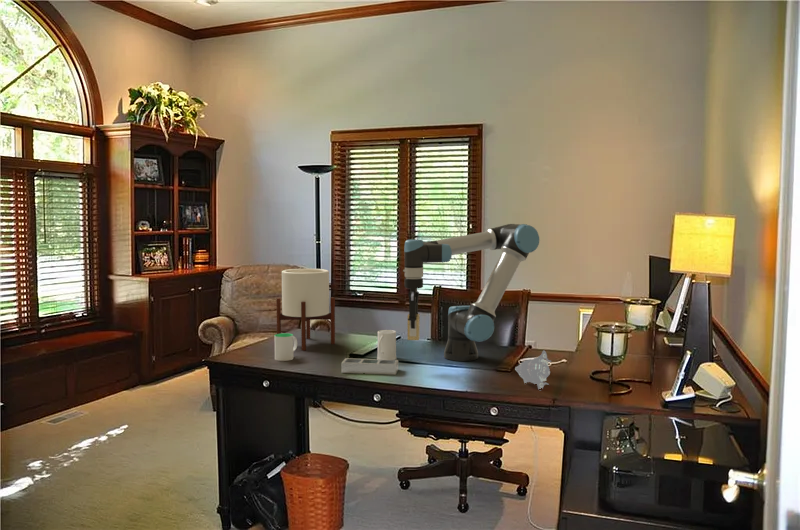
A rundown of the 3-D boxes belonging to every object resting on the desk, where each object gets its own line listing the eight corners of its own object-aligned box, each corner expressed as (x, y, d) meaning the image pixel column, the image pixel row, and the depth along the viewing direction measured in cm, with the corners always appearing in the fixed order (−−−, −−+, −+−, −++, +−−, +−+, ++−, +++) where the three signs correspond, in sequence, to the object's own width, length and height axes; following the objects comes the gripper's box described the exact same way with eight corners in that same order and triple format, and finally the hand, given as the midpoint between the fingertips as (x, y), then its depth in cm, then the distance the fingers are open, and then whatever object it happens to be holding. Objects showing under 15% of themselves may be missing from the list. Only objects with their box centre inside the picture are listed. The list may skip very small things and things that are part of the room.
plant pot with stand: (338, 343, 305) (338, 270, 302) (303, 351, 288) (302, 274, 285) (308, 337, 320) (308, 267, 317) (272, 344, 303) (271, 270, 300)
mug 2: (386, 363, 267) (386, 335, 266) (369, 360, 272) (369, 333, 271) (400, 357, 277) (400, 330, 276) (383, 355, 282) (383, 328, 281)
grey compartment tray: (398, 369, 257) (398, 359, 256) (395, 374, 249) (395, 364, 249) (345, 367, 259) (345, 358, 259) (341, 372, 251) (341, 362, 251)
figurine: (508, 386, 233) (537, 386, 223) (513, 347, 238) (541, 345, 228) (526, 393, 239) (555, 393, 228) (531, 355, 244) (559, 353, 233)
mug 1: (288, 353, 284) (288, 331, 283) (302, 355, 280) (302, 332, 279) (270, 359, 273) (270, 335, 272) (285, 361, 269) (285, 337, 268)
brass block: (419, 337, 258) (419, 313, 257) (418, 340, 254) (418, 315, 253) (408, 337, 258) (408, 313, 258) (407, 339, 254) (407, 315, 253)
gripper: (406, 275, 263) (406, 330, 265) (402, 280, 245) (402, 339, 248) (424, 275, 262) (424, 330, 264) (421, 280, 245) (421, 339, 247)
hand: (413, 334), depth 256 cm, fingers closed on brass block, 4 cm apart
